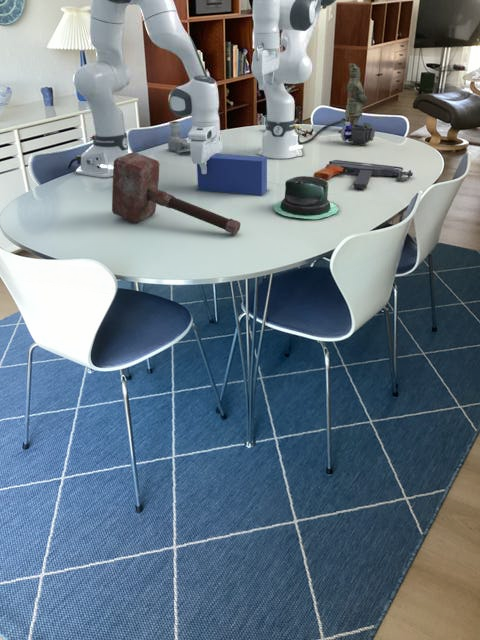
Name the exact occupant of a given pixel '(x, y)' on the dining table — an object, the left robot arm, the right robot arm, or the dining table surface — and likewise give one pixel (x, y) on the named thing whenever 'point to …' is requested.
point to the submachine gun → (360, 171)
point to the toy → (357, 133)
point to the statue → (354, 96)
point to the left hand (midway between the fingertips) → (208, 170)
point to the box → (234, 174)
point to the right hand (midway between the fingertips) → (265, 87)
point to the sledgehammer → (152, 194)
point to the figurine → (302, 131)
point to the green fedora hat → (306, 199)
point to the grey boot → (177, 139)
